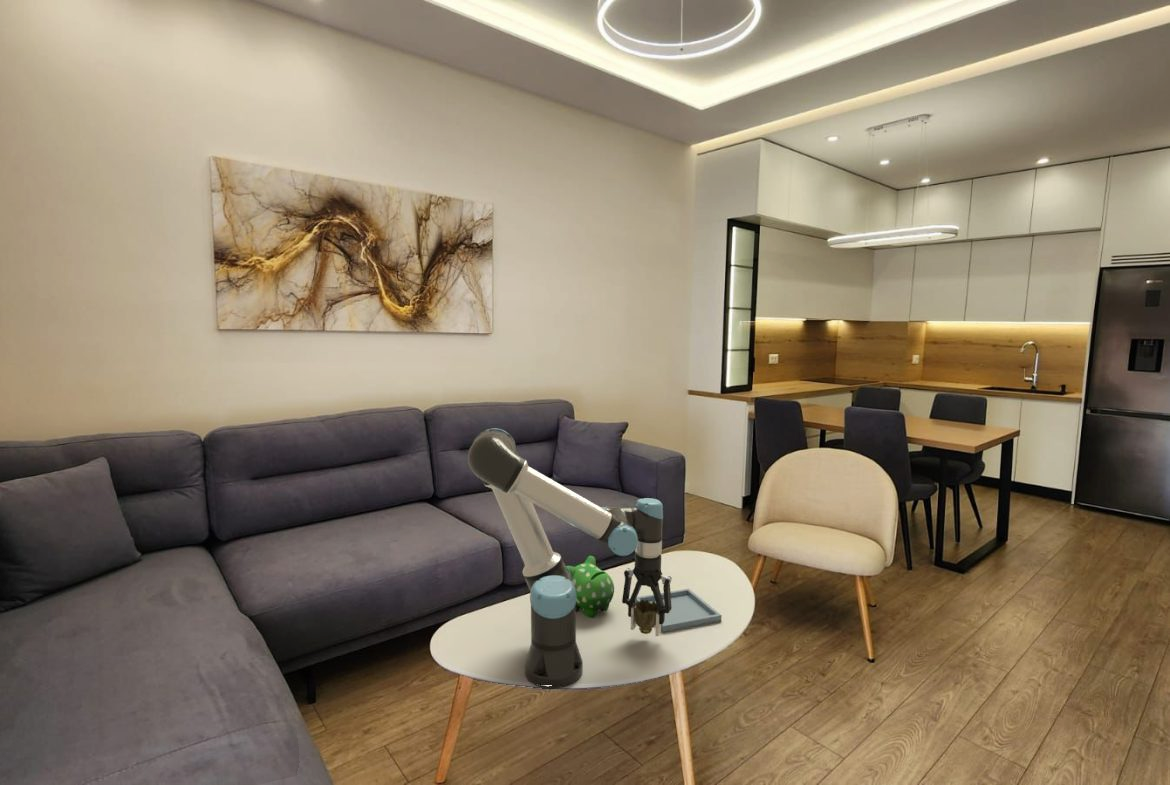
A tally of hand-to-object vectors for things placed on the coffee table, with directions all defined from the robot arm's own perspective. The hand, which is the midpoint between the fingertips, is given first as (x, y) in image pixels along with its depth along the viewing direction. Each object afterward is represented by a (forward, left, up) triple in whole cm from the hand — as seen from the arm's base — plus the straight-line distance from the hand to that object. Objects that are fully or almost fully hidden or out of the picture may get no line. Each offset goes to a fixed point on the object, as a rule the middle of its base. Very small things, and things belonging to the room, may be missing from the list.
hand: (645, 630), depth 166 cm
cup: (0, 0, -1) cm, 1 cm away
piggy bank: (-9, +24, -3) cm, 26 cm away
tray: (+17, +12, -3) cm, 21 cm away
